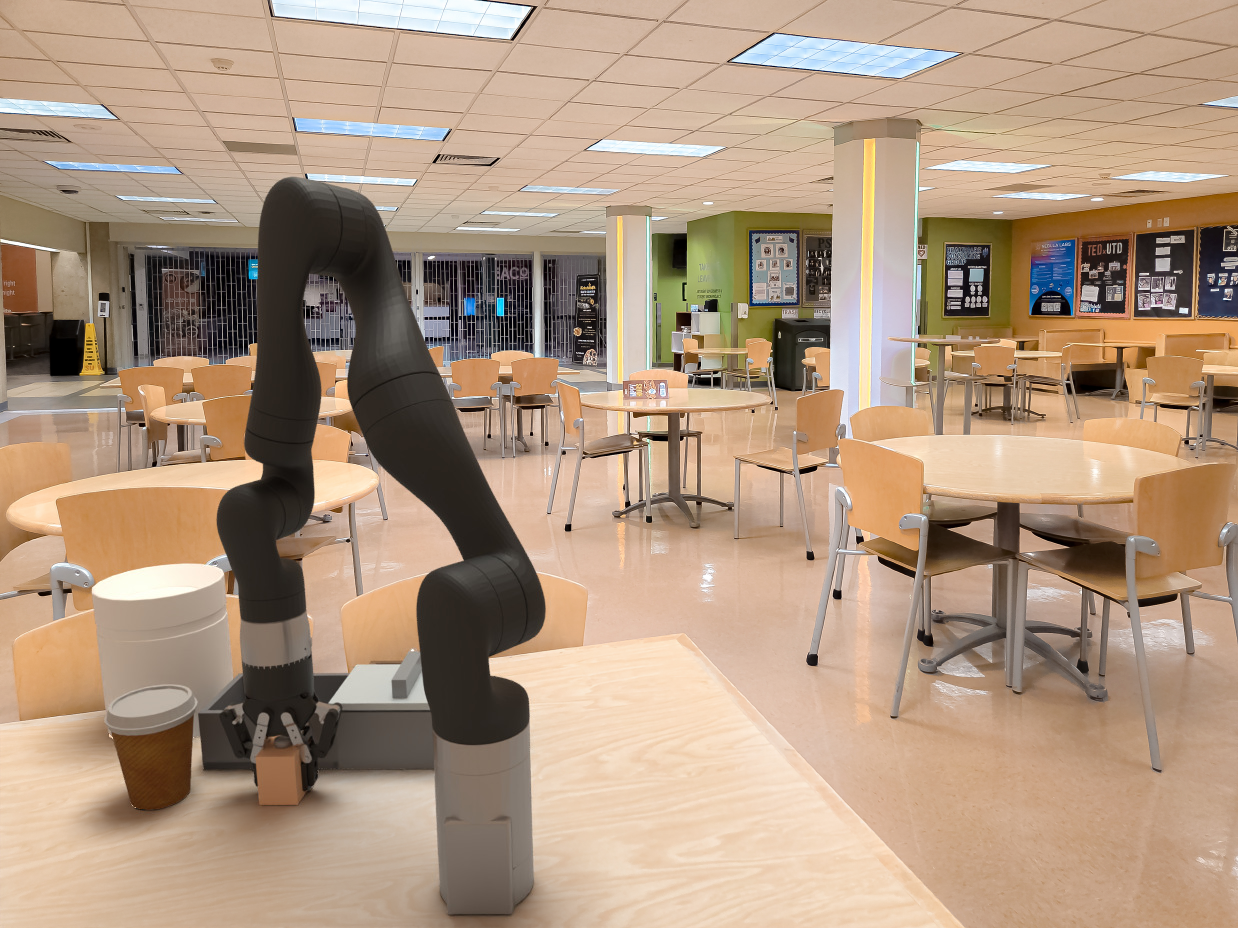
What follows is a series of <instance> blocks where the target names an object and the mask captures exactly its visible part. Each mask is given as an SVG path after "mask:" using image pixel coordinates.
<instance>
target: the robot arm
mask: <svg viewBox="0 0 1238 928" xmlns="http://www.w3.org/2000/svg"><path fill="white" fill-rule="evenodd" d="M260 212H261V213H260V217H259V224H258V233H257V235H258V236H257V239H258V241H257V278H256V279H257V280H256V281H257V283H256V289H257V290H256V301H257V303H256V328H257V329H256V330H257V331H256V360H255V361H256V362H255V370H254V371H255V372H254V379H253V384H252V392H251V397H250V403H249V407H248V415H247V420H246V425H245V431H244V440H243V445H244V446H243V447H244V450H245V453H246V455H248V457H249V458H250V459H252V460H253V461H255V462H258V463H260V464H261V465H262V474H261V478H260V479H256V480H253V481H250V482H245V483H243V484H239V485H236V486H234V487H232V488H230V489H229V490H227V492H225V493H224V494H223V496H222V497H221V499H220V501H219V503H218V508H217V512H216V518H215V519H216V520H215V521H216V530H217V533H218V536H219V539H220V542H221V546H222V547H223V549H224V552H225V555H226V557H227V561H228V563H229V566H230V568H231V571H232V574H233V576H234V578H235V580H236V583H237V589H238V591H237V593H238V604H239V606H238V607H239V615H240V623H239V625H240V627H239V645H240V654H241V656H240V658H241V668H242V670H241V671H242V673H243V682H244V692H245V695H246V697H245V700H244V702H243V703H241V704H236V703H230V704H229V705H228V706H227V707H226V708H225V709H224V710H223V711H222V712H221V713H220V715H219V718H220V721H221V723H222V725H223V728H224V730H225V733H226V735H227V737H228V740H229V742H230V745H231V747H232V750H233V752H234V754H235V756H236V757H237V758H243V757H245V758H248V759H250V760H251V761H252V763H253V770H252V772H253V783H254V784H255V786H256V787H257V788H258V782H257V770H256V758H255V757H256V755H257V754H258V753H259V752H260V751H261V750H263V749H264V748H265V745H266V743H267V742H270V741H271V738H272V737H274V736H278V735H282V736H286V737H290V739H291V741H292V743H293V746H294V747H296V748H297V750H299V755H300V757H301V759H302V762H301V777H302V790H303V791H306V792H310V791H311V789H312V787H314V786H315V784H316V783H317V781H318V779H319V777H320V776H319V769H318V761H317V758H324V757H326V755H327V754H328V751H329V750H330V749H331V748H332V746H333V743H334V739H335V735H336V732H337V728H338V724H339V720H340V716H341V712H342V705H341V704H340V703H338V702H336V703H334V704H333V705H330V704H326V703H322V702H319V699H318V697H317V695H316V694H315V691H314V676H313V673H314V664H313V651H312V646H313V639H312V638H313V637H311V635H312V634H311V625H310V621H309V617H308V611H307V601H306V600H307V598H306V586H305V584H306V583H305V576H304V571H303V568H302V565H301V564H299V562H297V561H296V560H295V559H291V558H287V557H281V556H280V552H279V550H278V546H277V541H279V540H281V539H283V538H286V537H288V536H291V535H293V534H296V533H297V532H299V531H301V530H302V529H303V527H304V526H306V524H307V523H308V521H309V519H310V517H311V515H312V512H313V510H314V505H315V499H316V498H315V495H316V490H315V477H314V476H315V473H314V461H313V453H312V450H313V444H314V441H315V435H316V431H317V426H318V421H319V417H320V416H319V415H320V409H321V403H322V381H321V376H320V375H321V374H320V371H319V367H318V365H317V361H316V359H315V356H314V352H313V350H312V347H311V343H310V341H309V338H308V334H307V330H306V325H305V320H304V298H305V292H306V288H307V284H308V279H309V276H310V274H311V275H316V276H326V277H333V278H334V279H335V280H336V281H337V283H338V284H339V286H340V288H341V290H342V291H343V294H344V295H345V298H346V300H347V303H348V306H349V308H350V311H351V314H352V316H353V322H354V325H355V334H354V341H353V345H352V350H351V354H350V358H349V364H348V371H347V377H346V379H347V380H346V382H347V383H346V385H347V386H346V388H347V396H348V397H347V398H348V401H349V403H350V407H351V410H352V412H353V415H354V416H355V419H356V421H357V424H358V426H359V429H360V431H361V434H362V436H363V439H364V441H365V443H366V445H367V448H368V450H369V452H370V453H371V455H372V456H373V458H374V460H375V461H376V462H377V464H379V465H380V466H381V467H382V469H384V471H386V472H387V473H388V474H389V475H390V476H391V477H392V478H393V479H394V480H395V481H397V482H398V483H399V484H400V485H401V486H402V487H404V488H405V489H406V490H407V491H409V492H410V494H412V495H414V497H415V498H417V499H418V500H420V501H421V502H422V503H423V504H424V505H425V506H426V507H427V508H428V509H430V510H431V511H432V512H433V514H435V515H436V516H437V517H438V518H439V520H440V521H441V522H442V524H443V526H445V528H446V529H447V531H448V533H449V534H450V536H451V538H452V539H453V541H454V543H455V545H456V547H457V549H458V551H459V553H460V555H461V557H462V559H463V560H461V561H458V562H454V563H450V564H448V565H444V566H441V567H437V568H436V569H433V570H431V571H430V572H428V573H427V574H426V575H425V576H424V578H423V580H422V581H421V583H420V585H419V588H418V592H417V597H416V606H415V607H416V608H415V609H416V610H415V612H416V613H415V614H416V628H417V637H418V646H419V652H420V657H421V666H422V677H423V686H424V692H425V696H426V699H427V702H428V705H429V708H430V711H431V715H432V732H433V754H434V756H433V757H434V769H433V775H434V776H433V777H434V795H435V797H434V798H435V817H436V818H435V819H436V839H437V840H436V841H437V857H438V858H437V859H438V875H439V877H438V880H439V893H440V895H441V898H442V899H443V901H444V902H445V903H446V908H447V909H446V910H447V914H448V915H511V914H513V913H514V909H515V907H516V906H517V904H519V903H520V902H521V901H523V900H524V899H525V898H526V897H527V896H528V895H529V893H530V892H531V890H532V888H533V885H534V880H535V879H534V874H535V872H534V843H533V842H534V841H533V840H534V839H533V812H532V811H533V810H532V809H533V807H532V806H533V805H532V801H533V800H532V771H531V770H532V769H531V767H532V766H531V732H530V731H531V725H530V723H531V722H530V719H531V715H530V712H531V711H530V699H529V695H528V692H527V690H526V689H525V688H524V687H523V686H522V685H521V684H520V683H518V682H516V681H514V680H512V679H508V678H506V677H501V676H495V675H491V670H490V669H491V668H490V657H493V656H495V655H498V654H500V653H503V652H505V651H507V650H510V649H512V648H514V647H517V646H520V645H522V644H524V643H526V642H529V641H531V640H532V639H533V638H536V636H538V634H539V633H540V632H541V630H542V629H543V626H544V623H545V620H546V614H547V613H546V609H547V608H546V607H547V606H546V599H545V594H544V590H543V587H542V583H541V580H540V577H539V575H538V573H537V571H536V569H535V567H534V564H533V563H532V560H531V559H530V557H529V555H528V553H527V552H526V549H525V548H524V546H523V544H522V543H521V541H520V539H519V537H518V535H517V534H516V532H515V530H514V529H513V526H512V525H511V522H510V521H509V520H508V518H507V516H506V514H505V513H504V510H503V509H502V507H501V506H500V503H499V501H498V500H497V498H496V495H495V494H494V492H493V490H492V489H491V487H490V485H489V482H488V481H487V478H486V476H485V474H484V472H483V469H482V468H481V466H480V465H481V464H479V463H480V462H479V461H478V459H477V457H476V454H475V453H474V451H473V448H472V446H471V444H470V442H469V440H468V437H467V434H466V432H465V430H464V428H463V426H462V423H461V420H460V418H459V415H458V412H457V410H456V407H455V405H454V403H453V400H452V398H451V395H450V394H449V391H448V389H447V386H446V384H445V382H444V380H443V378H442V375H441V374H440V371H439V369H438V367H437V365H436V363H435V361H434V359H433V357H432V355H431V353H430V350H429V348H428V344H427V343H426V341H425V338H424V335H423V333H422V330H421V328H420V325H419V323H418V321H417V318H416V315H415V313H414V311H413V308H412V306H411V303H410V301H409V298H408V295H407V292H406V290H405V286H404V284H403V280H402V278H401V274H400V270H399V268H398V264H397V262H396V258H395V254H394V251H393V249H392V245H391V242H390V239H389V236H388V235H389V234H388V233H387V230H386V227H385V225H384V222H383V220H382V217H381V214H380V213H379V211H378V209H377V208H376V206H375V205H374V203H373V202H372V201H371V200H370V199H369V198H368V197H367V196H366V195H364V194H362V193H361V192H358V191H355V190H353V189H350V188H348V187H342V186H338V185H334V184H329V183H326V182H323V181H318V180H313V179H310V178H306V177H299V176H289V177H283V178H281V179H280V180H278V181H276V182H275V183H274V185H272V187H270V189H269V191H268V193H267V194H266V196H265V198H264V201H263V203H262V208H261V211H260ZM315 712H316V713H317V714H318V715H319V721H320V723H321V724H323V728H322V732H321V736H320V740H319V743H317V742H316V740H315V737H314V734H313V733H314V730H313V727H312V724H311V722H310V718H311V717H312V715H313V714H314V713H315ZM245 714H246V715H247V717H248V718H249V719H250V720H251V721H252V722H253V723H254V725H255V726H256V727H257V728H256V732H255V736H254V740H253V741H252V739H251V736H250V734H249V731H248V729H247V726H246V724H245V721H244V719H245Z"/></svg>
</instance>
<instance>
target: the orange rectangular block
mask: <svg viewBox="0 0 1238 928" xmlns="http://www.w3.org/2000/svg"><path fill="white" fill-rule="evenodd" d="M255 758H256V770H257V782H258V787H257V791H258V804H259V806H298V805H299V804H300V802H301V801H302V799H303V798H304V796H305V795H306V793H307V791H303V790H302V777H301V762H302V759H301V757H300V755H299V750H297V748H296V747H294V746H293V743H292V741H291V739H290V737H286V736H282V735H278V736H274V737H272V738H271V741H270V742H267V743H266V745H265V748H264V749H263V750H261V751H260V752H259V753H258V754H257V755H256V757H255Z"/></svg>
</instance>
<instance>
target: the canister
mask: <svg viewBox="0 0 1238 928" xmlns="http://www.w3.org/2000/svg"><path fill="white" fill-rule="evenodd" d="M91 599H92V607H93V613H94V614H93V615H94V624H95V625H96V641H97V642H96V643H97V651H98V657H99V665H100V675H101V683H102V684H101V685H102V690H103V691H102V692H103V700H104V707H105V716H106V715H107V712H108V706H109V705H110V703H111V702H112V701H114V700H115V699H116V698H118V697H120V696H121V695H123V694H126V693H128V692H131V691H134V690H137V689H140V688H144V687H149V686H155V685H165V684H172V685H182V686H185V687H188V688H189V689H190V690H191V691H192V693H193V696H194V697H195V698H196V699H197V702H198V705H197V707H196V709H195V713H194V720H193V737H196V738H197V736H198V737H200V729H199V719H198V713H199V712H200V711H201V710H202V709H203V708H204V707H205V706H206V705H207V704H208V703H209V702H210V701H211V700H212V699H213V698H214V697H215V696H216V695H217V694H218V693H219V692H220V691H221V690H222V689H223V688H224V687H225V686H226V685H227V684H229V683H230V682H231V681H232V680H233V679H234V670H233V659H232V647H231V638H230V637H231V636H230V626H229V624H230V623H229V614H228V610H227V603H228V602H227V589H226V580H225V573H224V571H223V569H222V568H220V567H217V566H215V565H210V564H203V563H172V564H161V565H154V566H147V567H146V566H145V567H142V568H136V569H132V570H128V571H125V572H120V573H117V574H114V575H110V576H109V577H106V578H104V579H102V580H100V581H98V582H97V583H95V585H93V586H92V587H91ZM108 733H109V734H110V735H111V736H112V733H111V731H110V730H109V728H108V727H107V734H108Z"/></svg>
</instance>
